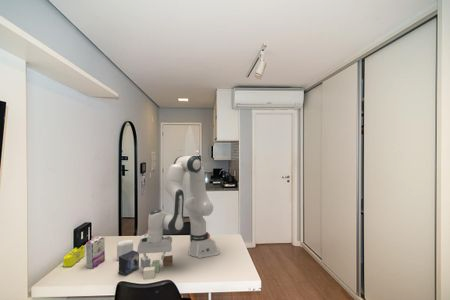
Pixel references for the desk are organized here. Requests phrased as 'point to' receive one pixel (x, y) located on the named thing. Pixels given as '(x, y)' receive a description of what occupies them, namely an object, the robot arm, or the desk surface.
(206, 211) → the robot arm
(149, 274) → the cream brick
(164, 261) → the walnut brick
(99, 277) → the desk surface
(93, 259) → the candy bar box
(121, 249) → the photo printer
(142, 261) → the grey brick
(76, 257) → the yellow toy chassis
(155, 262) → the sage brick
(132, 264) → the small box
